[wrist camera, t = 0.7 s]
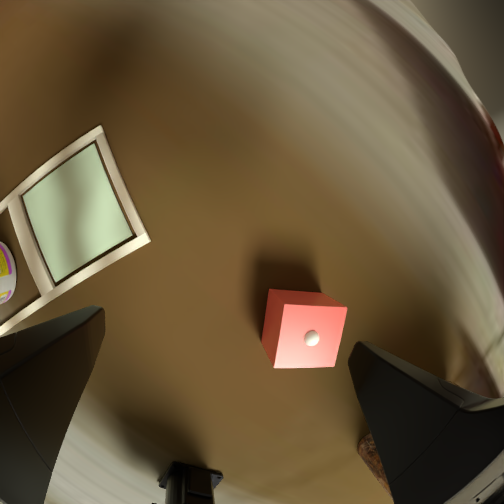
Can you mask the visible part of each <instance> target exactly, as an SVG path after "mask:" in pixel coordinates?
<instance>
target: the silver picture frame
mask: <svg viewBox="0 0 504 504" xmlns="http://www.w3.org/2000/svg"><path fill="white" fill-rule="evenodd" d="M95 139H96V140H97V143H98V145H99V148H100V151H101V154H102V156H103V159H104V161H105V164H106V166H107V169H108V172H109V174H110V176H111V179H112V181H113V184H114V186H115V189H116V191H117V193H118V196H119V198H120V200H121V202H122V205H123V207H124V209H125V211H126V214H127V216H128V218H129V220H130V222H131V224H132V227H133V229H134V231H135V233H136V235H137V238H135V239H133V240H132V241H130V242H128V243H126V244H125V245H123V246H121V247H120V248H118V249H116V250H114V251H113V252H111V253H109V254H108V255H106V256H104V257H103V258H101V259H99V260H98V261H96V262H94V263H93V264H91V265H90V266H88V267H86V268H85V269H83V270H82V271H80V272H78V273H77V274H75V275H74V276H72V277H71V278H69V279H67V280H66V281H64V282H63V283H61V284H60V285H58V286H57V287H55V285H54V283H53V281H52V279H51V277H50V274H49V272H48V270H47V268H46V265H45V263H44V261H43V258H42V256H41V253H40V251H39V248H38V246H37V243H36V241H35V238H34V235H33V232H32V230H31V227H30V224H29V221H28V218H27V215H26V212H25V208H24V205H23V202H22V198H21V194H22V193H24V192H25V191H26V190H27V189H28V188H29V187H31V186H32V185H33V184H34V183H35V182H37V181H38V180H39V179H40V178H42V177H43V176H44V175H45V174H47V173H48V172H49V171H51V170H52V169H53V168H55V167H56V166H57V165H59V164H60V163H61V162H63V161H64V160H65V159H67V158H68V157H70V156H71V155H72V154H74V153H75V152H77V151H78V150H80V149H81V148H83V147H84V146H86V145H87V144H89V143H90V142H92V141H94V140H95ZM23 198H24V202H25V205H26V208H27V211H28V214H29V218H30V221H31V223H32V226H33V229H34V232H35V235H36V237H37V240H38V243H39V245H40V248H41V250H42V253H43V255H44V258H45V260H46V262H47V265H48V267H49V269H50V271H51V274H52V276H53V278H54V280H55V282H57V281H59V280H60V279H62V278H64V277H65V276H67V275H68V274H70V273H71V272H73V271H74V270H76V269H77V268H79V267H81V266H82V265H84V264H85V263H87V262H88V261H90V260H92V259H93V258H95V257H97V256H98V255H100V254H101V253H103V252H105V251H106V250H108V249H110V248H111V247H113V246H115V245H117V244H118V243H120V242H122V241H123V240H125V239H127V238H129V237H130V236H132V235H133V234H132V232H131V230H130V227H129V225H128V223H127V221H126V219H125V217H124V214H123V212H122V210H121V208H120V206H119V203H118V201H117V199H116V196H115V194H114V192H113V189H112V187H111V184H110V182H109V180H108V177H107V175H106V172H105V170H104V167H103V164H102V162H101V159H100V157H99V154H98V151H97V149H96V146H95V144H92V145H91V146H89V147H88V148H86V149H85V150H83V151H82V152H80V153H79V154H77V155H76V156H74V157H73V158H71V159H70V160H68V161H67V162H66V163H64V164H63V165H62V166H60V167H59V168H57V169H56V170H55V171H53V172H52V173H51V174H50V175H48V176H47V177H46V178H44V179H43V180H42V181H41V182H39V183H38V184H37V185H36V186H34V187H33V188H32V189H31V190H30V191H29V192H27V193H26V194H25V195H24V196H23ZM7 207H8V209H9V212H10V216H11V219H12V222H13V225H14V229H15V232H16V235H17V238H18V240H19V243H20V246H21V249H22V251H23V254H24V257H25V259H26V262H27V264H28V267H29V269H30V271H31V274H32V276H33V278H34V281H35V283H36V285H37V287H38V289H39V292H40V294H41V296H42V297H40V298H39V299H38V300H36V301H35V302H33V303H32V304H30V305H29V306H28V307H26V308H25V309H23V310H22V311H21V312H19V313H18V314H16V315H15V316H14V317H12V318H11V319H10V320H8V321H7V322H6V323H4V324H3V325H2V326H0V336H1V335H2V334H3V333H5V332H6V331H8V330H9V329H10V328H12V327H13V326H15V325H16V324H17V323H19V322H20V321H22V320H23V319H25V318H26V317H28V316H29V315H31V314H32V313H33V312H35V311H36V310H38V309H39V308H41V307H42V306H44V305H45V304H47V303H49V302H50V301H52V300H53V299H55V298H56V297H58V296H59V295H61V294H62V293H64V292H66V291H67V290H69V289H70V288H72V287H74V286H75V285H77V284H78V283H80V282H82V281H83V280H85V279H87V278H88V277H90V276H92V275H93V274H95V273H96V272H98V271H100V270H102V269H103V268H105V267H107V266H108V265H110V264H112V263H113V262H115V261H117V260H119V259H120V258H122V257H124V256H126V255H127V254H129V253H131V252H133V251H134V250H136V249H138V248H140V247H141V246H143V245H145V244H147V243H149V242H151V239H150V237H149V235H148V233H147V231H146V229H145V227H144V225H143V223H142V221H141V219H140V217H139V214H138V212H137V210H136V208H135V206H134V203H133V201H132V199H131V197H130V195H129V192H128V190H127V188H126V185H125V183H124V181H123V178H122V176H121V174H120V171H119V169H118V166H117V164H116V162H115V159H114V157H113V154H112V152H111V149H110V146H109V144H108V141H107V139H106V136H105V133H104V130H103V128H102V126H101V125H100V126H98V127H96V128H95V129H93V130H92V131H90V132H88V133H87V134H85V135H84V136H82V137H81V138H79V139H78V140H76V141H75V142H73V143H72V144H71V145H69V146H68V147H66V148H65V149H63V150H62V151H61V152H59V153H58V154H57V155H55V156H54V157H53V158H51V159H50V160H49V161H47V162H46V163H45V164H44V165H42V166H41V167H40V168H39V169H37V170H36V171H35V172H34V173H33V174H31V175H30V176H29V177H28V178H27V179H25V180H24V181H23V182H22V183H21V184H20V185H19V186H18V187H16V188H15V189H14V190H13V191H12V192H11V193H10V194H9V195H8V196H7V197H6V198H5V199H4V200H3V201H2V202H1V203H0V214H1V213H2V212H3V211H4V210H5V209H6V208H7Z"/></svg>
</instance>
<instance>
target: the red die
mask: <svg viewBox="0 0 504 504" xmlns="http://www.w3.org/2000/svg"><path fill="white" fill-rule="evenodd" d="M346 312H347V307H346V306H344V305H342V304H341V303H339V302H337V301H335V300H334V299H332V298H330V297H329V296H327V295H325V294H323V293H319V292H304V291H291V290H278V289H269V292H268V299H267V306H266V313H265V320H264V327H263V334H262V341H261V343H262V345H263V347H264V349H265V351H266V353H267V355H268V357H269V359H270V361H271V363H272V365H273V367H274V368H312V367H334V365H335V361H336V357H337V353H338V349H339V344H340V340H341V336H342V331H343V326H344V322H345V317H346Z"/></svg>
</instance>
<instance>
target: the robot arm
mask: <svg viewBox="0 0 504 504" xmlns="http://www.w3.org/2000/svg"><path fill="white" fill-rule="evenodd" d="M104 335H105V311H104V309H103V308H102V307H99V306H95V305H91V306H89V307H86V308H83V309H80V310H77V311H74V312H72V313H69V314H66V315H63V316H60V317H57V318H55V319H52V320H49V321H46V322H43V323H41V324H38V325H35V326H32V327H29V328H26V329H24V330H21V331H18V332H17V333H12V334H9V335H7V336H4V337H1V338H0V504H44V500H45V496H46V493H47V489H48V486H49V482H50V479H51V476H52V472H53V469H54V466H55V463H56V460H57V457H58V454H59V451H60V448H61V445H62V442H63V440H64V437H65V434H66V432H67V429H68V427H69V424H70V421H71V419H72V416H73V414H74V411H75V409H76V407H77V404H78V402H79V400H80V397H81V395H82V393H83V390H84V388H85V386H86V384H87V381H88V379H89V377H90V375H91V373H92V370H93V367H94V365H95V361H96V358H97V355H98V352H99V349H100V347H101V344H102V341H103V338H104ZM348 366H349V370H350V373H351V377H352V380H353V384H354V388H355V392H356V395H357V398H358V401H359V403H360V406H361V409H362V411H363V414H364V417H365V419H366V422H367V425H368V427H369V430H370V433H371V436H372V438H373V441H374V444H375V447H376V450H377V452H378V455H379V458H380V461H381V464H382V467H383V470H384V473H385V476H386V479H387V482H388V485H389V488H390V492H391V495H392V498H393V501H394V504H504V397H503V398H499V399H490V398H486V397H483V396H481V395H478V394H476V393H473V392H471V391H468V390H466V389H463V388H461V387H458V386H456V385H454V384H452V383H449V382H447V381H445V380H443V379H441V378H439V377H436V376H435V375H433V374H431V373H429V372H427V371H425V370H423V369H421V368H419V367H416V366H414V365H412V364H410V363H408V362H406V361H404V360H402V359H400V358H399V357H397V356H395V355H393V354H391V353H389V352H387V351H385V350H383V349H381V348H379V347H377V346H375V345H373V344H371V343H369V342H367V341H358V342H356V344H355V345H354V348H353V350H352V352H351V354H350V357H349V359H348ZM222 479H223V474H221V473H216V472H212V471H208V470H204V469H200V468H196V467H192V466H189V465H185V464H182V463H179V462H172V463H171V465H170V466H169V468H168V470H167V471H166V473H165V474H164V476H163V478H162V479H161V481H160V482H159V487H161V488H164V489H166V499H165V504H215V501H214V490H213V489H214V488H215V487H216V486H217V485H218V484H219V482H220V481H221V480H222ZM152 504H157V503H152Z"/></svg>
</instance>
